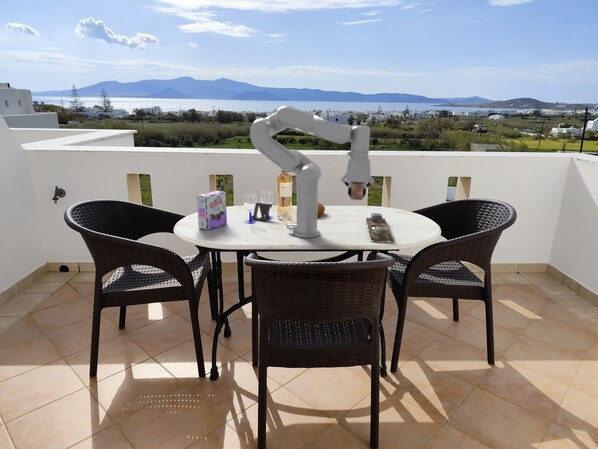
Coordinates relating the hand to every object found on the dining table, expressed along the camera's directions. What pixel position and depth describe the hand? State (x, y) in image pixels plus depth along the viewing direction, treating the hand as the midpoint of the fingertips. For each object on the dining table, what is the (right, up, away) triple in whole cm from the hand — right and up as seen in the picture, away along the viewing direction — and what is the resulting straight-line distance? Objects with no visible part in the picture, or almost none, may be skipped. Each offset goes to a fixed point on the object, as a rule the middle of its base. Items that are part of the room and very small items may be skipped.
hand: (356, 196), depth 174 cm
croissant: (-18, -7, +43) cm, 48 cm away
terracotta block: (0, -1, 0) cm, 1 cm away
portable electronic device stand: (-45, -10, +32) cm, 56 cm away
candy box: (-67, -14, +18) cm, 71 cm away
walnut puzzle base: (+13, -16, +16) cm, 26 cm away
